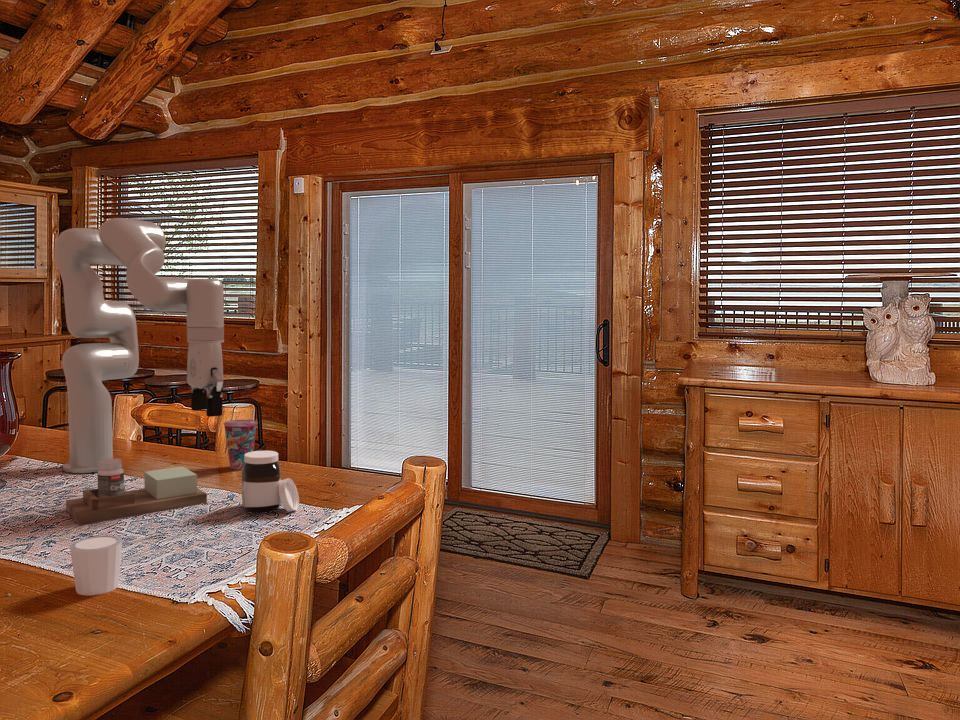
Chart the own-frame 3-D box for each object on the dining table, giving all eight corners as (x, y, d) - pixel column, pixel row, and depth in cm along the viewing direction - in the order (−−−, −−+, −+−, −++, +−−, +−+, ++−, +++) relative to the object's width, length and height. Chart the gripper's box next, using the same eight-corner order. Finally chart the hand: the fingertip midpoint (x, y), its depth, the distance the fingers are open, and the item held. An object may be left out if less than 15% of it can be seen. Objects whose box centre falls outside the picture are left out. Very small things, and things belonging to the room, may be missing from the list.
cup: (216, 469, 174) (215, 423, 173) (239, 462, 181) (239, 418, 180) (245, 473, 170) (244, 426, 169) (267, 466, 178) (267, 421, 177)
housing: (66, 509, 138) (65, 490, 138) (187, 490, 154) (187, 473, 154) (79, 525, 129) (78, 504, 129) (206, 502, 145) (206, 484, 145)
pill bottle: (113, 504, 136) (112, 463, 135) (92, 503, 137) (91, 462, 136) (129, 498, 140) (128, 458, 140) (109, 496, 141) (108, 457, 141)
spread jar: (240, 503, 146) (240, 450, 145) (294, 498, 150) (294, 446, 149) (244, 520, 135) (244, 462, 134) (302, 514, 139) (302, 458, 138)
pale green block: (144, 489, 147) (144, 471, 146) (182, 483, 152) (182, 466, 152) (157, 499, 140) (157, 480, 140) (197, 492, 145) (196, 474, 145)
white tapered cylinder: (109, 574, 107) (108, 531, 106) (132, 585, 103) (131, 541, 102) (62, 589, 101) (61, 543, 101) (85, 601, 97) (83, 554, 97)
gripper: (175, 334, 152) (176, 409, 154) (201, 337, 139) (202, 420, 141) (209, 333, 157) (210, 406, 159) (237, 337, 144) (238, 416, 146)
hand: (206, 413), depth 150 cm, fingers open, 9 cm apart
